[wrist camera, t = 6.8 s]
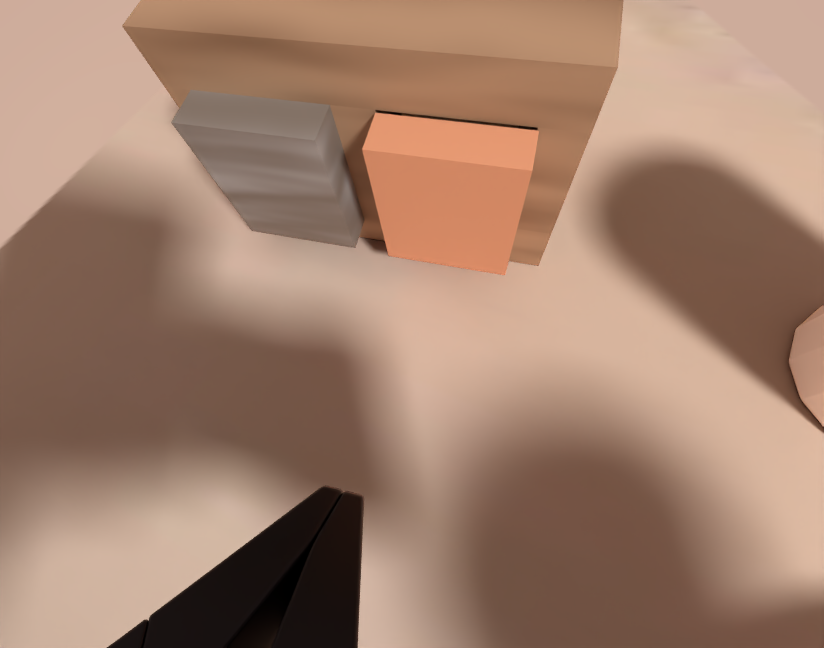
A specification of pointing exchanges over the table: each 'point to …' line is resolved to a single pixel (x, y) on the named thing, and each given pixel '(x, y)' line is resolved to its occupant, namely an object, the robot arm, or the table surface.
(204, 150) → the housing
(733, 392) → the table surface
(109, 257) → the table surface
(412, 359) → the table surface
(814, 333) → the white cup
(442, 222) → the plug
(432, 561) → the table surface
